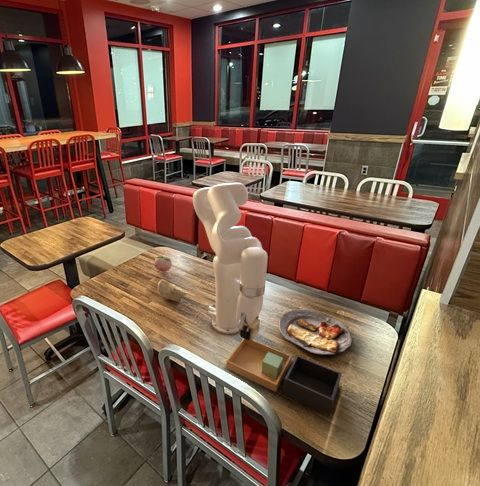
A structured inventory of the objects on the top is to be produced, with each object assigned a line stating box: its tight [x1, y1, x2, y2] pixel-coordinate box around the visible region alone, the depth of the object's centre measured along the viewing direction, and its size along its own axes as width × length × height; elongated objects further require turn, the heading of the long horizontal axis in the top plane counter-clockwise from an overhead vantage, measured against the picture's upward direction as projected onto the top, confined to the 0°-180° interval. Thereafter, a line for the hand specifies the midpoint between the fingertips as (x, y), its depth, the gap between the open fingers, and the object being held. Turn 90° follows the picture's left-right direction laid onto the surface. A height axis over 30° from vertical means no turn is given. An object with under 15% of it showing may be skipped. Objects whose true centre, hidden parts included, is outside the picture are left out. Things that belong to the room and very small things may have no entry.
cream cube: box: [238, 318, 261, 341], centre depth 101 cm, size 5×5×5 cm
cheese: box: [157, 278, 188, 302], centre depth 141 cm, size 15×7×15 cm
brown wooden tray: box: [225, 338, 293, 393], centre depth 104 cm, size 17×14×3 cm
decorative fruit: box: [153, 254, 173, 273], centre depth 162 cm, size 9×8×10 cm
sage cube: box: [262, 352, 283, 379], centre depth 101 cm, size 5×5×5 cm
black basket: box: [282, 354, 343, 417], centre depth 93 cm, size 13×11×6 cm
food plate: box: [278, 308, 353, 356], centre depth 116 cm, size 25×23×4 cm
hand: (248, 332), depth 102 cm, fingers closed on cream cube, 5 cm apart
